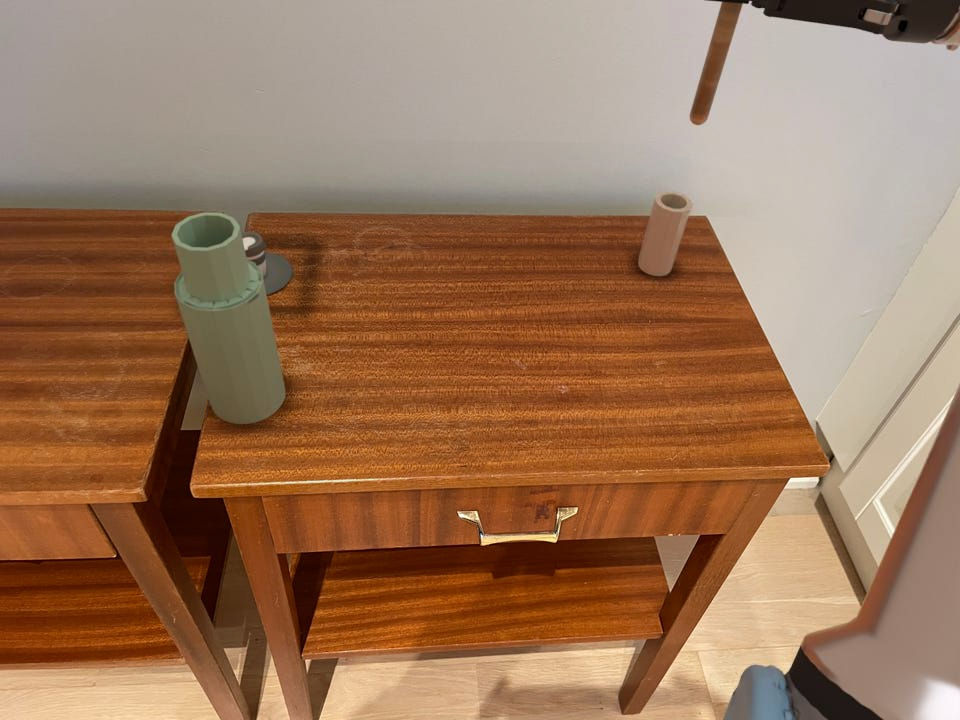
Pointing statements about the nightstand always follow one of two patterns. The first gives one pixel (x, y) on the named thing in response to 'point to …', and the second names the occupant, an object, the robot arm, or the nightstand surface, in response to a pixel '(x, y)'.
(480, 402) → the nightstand surface
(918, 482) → the robot arm
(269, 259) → the coffee cup
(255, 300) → the bottle
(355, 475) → the nightstand surface
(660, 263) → the holder
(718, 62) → the wooden stick
